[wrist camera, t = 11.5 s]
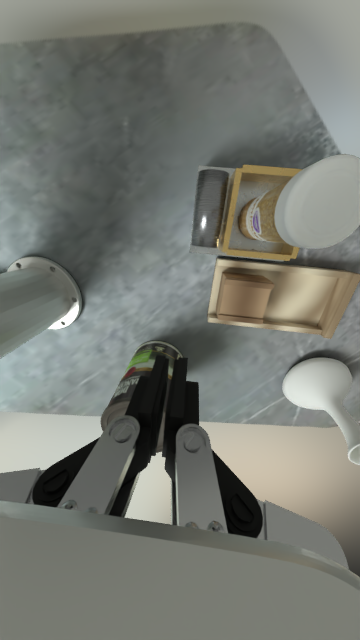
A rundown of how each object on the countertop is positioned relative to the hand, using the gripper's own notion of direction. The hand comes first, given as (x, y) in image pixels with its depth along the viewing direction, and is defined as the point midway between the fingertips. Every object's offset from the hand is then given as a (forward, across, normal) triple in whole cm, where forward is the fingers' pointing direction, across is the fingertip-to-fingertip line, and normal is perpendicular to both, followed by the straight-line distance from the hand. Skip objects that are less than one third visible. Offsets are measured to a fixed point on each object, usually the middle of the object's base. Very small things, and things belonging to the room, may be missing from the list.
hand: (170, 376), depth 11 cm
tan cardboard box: (+20, -8, 0) cm, 21 cm away
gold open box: (+21, -6, -10) cm, 24 cm away
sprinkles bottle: (+17, -8, -10) cm, 21 cm away
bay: (+21, -13, 0) cm, 25 cm away
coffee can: (+21, +4, +16) cm, 27 cm away
